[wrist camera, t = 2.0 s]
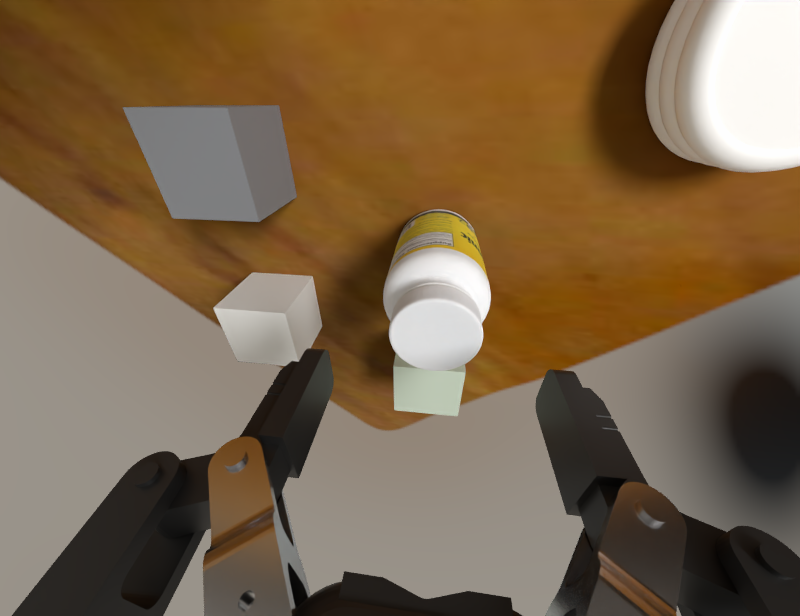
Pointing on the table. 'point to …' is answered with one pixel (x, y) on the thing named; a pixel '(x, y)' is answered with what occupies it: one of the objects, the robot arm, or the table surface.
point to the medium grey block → (216, 159)
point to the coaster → (728, 83)
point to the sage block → (427, 389)
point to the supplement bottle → (437, 292)
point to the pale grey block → (270, 318)
